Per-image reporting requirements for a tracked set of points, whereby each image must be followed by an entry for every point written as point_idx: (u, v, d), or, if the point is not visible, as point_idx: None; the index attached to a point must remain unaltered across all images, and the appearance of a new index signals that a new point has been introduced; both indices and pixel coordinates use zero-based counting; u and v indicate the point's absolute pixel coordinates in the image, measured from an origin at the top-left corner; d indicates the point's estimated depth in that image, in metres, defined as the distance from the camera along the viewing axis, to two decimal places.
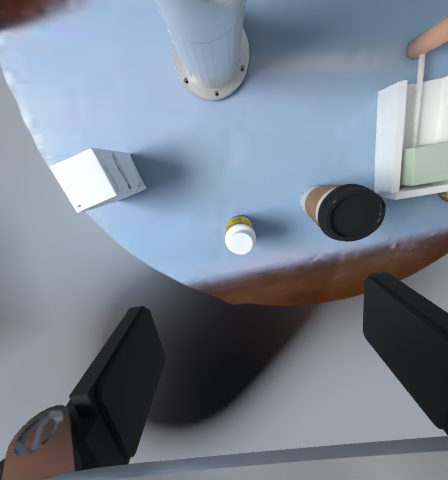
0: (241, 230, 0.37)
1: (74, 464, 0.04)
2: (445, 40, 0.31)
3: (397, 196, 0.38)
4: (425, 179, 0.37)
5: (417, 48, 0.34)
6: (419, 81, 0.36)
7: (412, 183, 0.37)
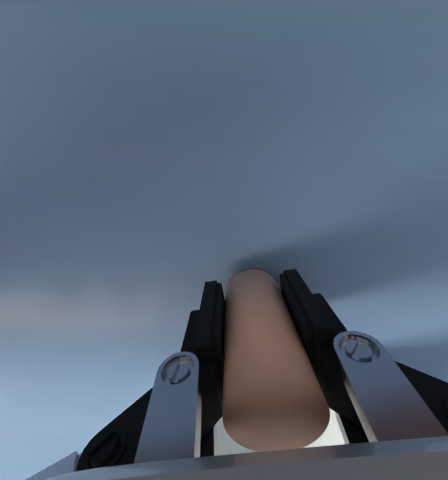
0: None
1: (196, 419, 0.05)
2: None
3: None
4: None
5: None
6: None
7: None
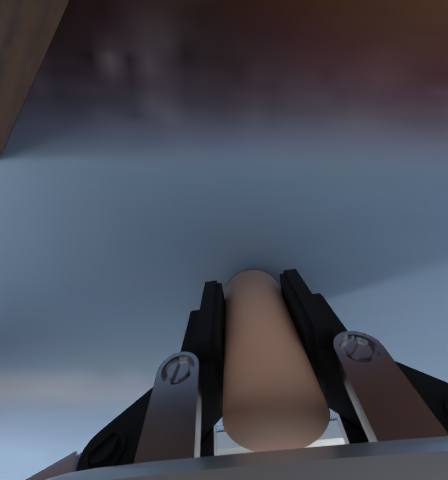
0: None
1: (196, 419, 0.05)
2: None
3: None
4: None
5: None
6: None
7: None
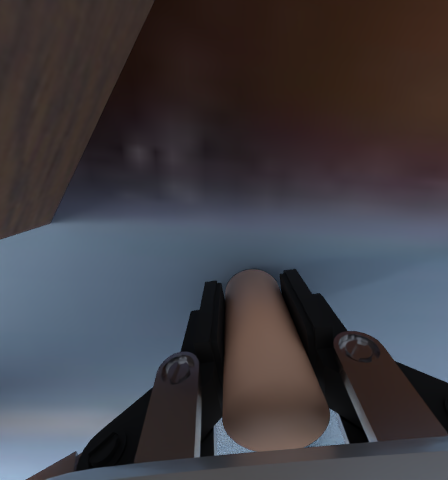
0: None
1: (196, 419, 0.05)
2: None
3: None
4: None
5: None
6: None
7: None
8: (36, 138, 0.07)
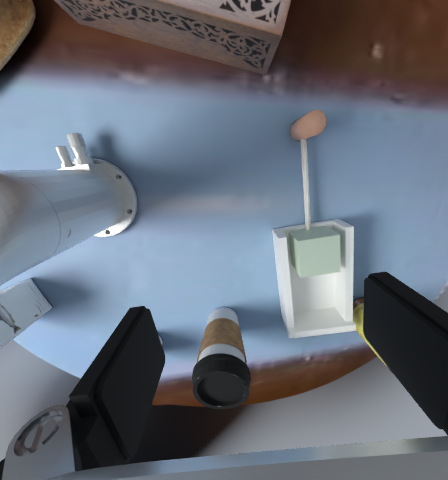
0: None
1: (74, 464, 0.04)
2: (311, 135, 0.27)
3: (290, 335, 0.37)
4: (313, 272, 0.33)
5: (295, 134, 0.31)
6: (303, 166, 0.32)
7: (300, 275, 0.34)
8: None
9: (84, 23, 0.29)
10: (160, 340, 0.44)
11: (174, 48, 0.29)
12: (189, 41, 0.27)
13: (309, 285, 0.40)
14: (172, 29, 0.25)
